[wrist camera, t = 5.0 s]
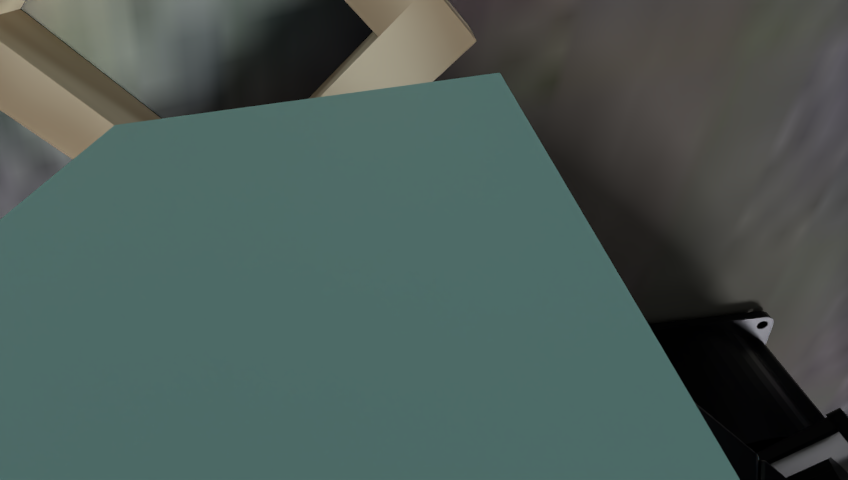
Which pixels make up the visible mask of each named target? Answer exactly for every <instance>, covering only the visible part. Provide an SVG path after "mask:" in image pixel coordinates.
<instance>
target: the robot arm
mask: <svg viewBox="0 0 848 480" xmlns="http://www.w3.org/2000/svg"><path fill="white" fill-rule="evenodd" d="M649 326H650V328H651V330H652V331H653V333H654V335H655V337H656V338H657V340H658V342H659V343H660V345H661V347H662V348H663V350H664V352H665V353H666V355H667V357H668V359H669V360H670V362H671V364H672V365H673V367H674V369H675V370H676V372H677V374H678V376H679V377H680V379H681V381H682V382H683V384H684V386H685V387H686V389H687V391H688V392H689V394H690V396H691V398H692V399H693V401H694V403H695V404H696V406H697V408H698V409H699V411H700V413H701V414H702V416H703V418H704V420H705V421H706V423H707V425H708V426H709V428H710V430H711V431H712V433H713V435H714V436H715V438H716V440H717V442H718V443H719V445H720V447H721V448H722V450H723V452H724V453H725V455H726V457H727V459H728V460H729V462H730V464H731V465H732V467H733V469H734V470H735V472H736V474H737V475H738V477H739V479H740V480H848V415H847V414H846V413H845V412H844V411H843V410H842V409H841V408H838V409H836V410H834V411H832V412H830V413H828V414H826V416H827V417H826V418H825V417H824V416H823V415H822V413H821V412H820V411H819V410H818V409H817V407H816V406H815V405H814V404H813V402H812V401H811V400H810V399H809V398H808V396H807V395H806V394H805V393H804V392H803V390H802V389H801V388H800V387H799V385H798V384H797V383H796V382H795V381H794V379H793V378H792V377H791V376H790V374H789V373H788V372H787V371H786V370H785V368H784V367H783V366H782V365H781V363H780V362H779V361H778V360H777V359H776V357H775V356H774V355H773V354H772V353H771V351H770V350H769V349H768V348H767V346H766V342H767V340H768V337H769V334H770V331H771V329H772V326H773V319H772V318H771V317H770V316H769V315H768V314H767V313H766V312H763V311H759V312H751V313H743V314H734V315H726V316H717V317H709V318H700V319H692V320H684V321H675V322H667V323H658V324H650V325H649Z"/></svg>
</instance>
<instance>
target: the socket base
mask: <svg viewBox="0 0 848 480" xmlns="http://www.w3.org/2000/svg"><path fill="white" fill-rule="evenodd" d="M24 2H25V0H0V110H1V111H2V112H4V113H5V114H7V115H8V116H10V117H11V118H13V119H14V120H16V121H17V122H18V123H20V124H21V125H23V126H24V127H26V128H27V129H29V130H30V131H32V132H33V133H35V134H36V135H38V136H39V137H41V138H42V139H43V140H45V141H46V142H48V143H49V144H51V145H52V146H54V147H55V148H57V149H58V150H60V151H61V152H63V153H64V154H66V155H67V156H68V157H70V158H71V159H74V158H75V157H77V156H78V155H79V154H80V153H81V152H83V151H84V150H85V149H86V148H88V147H89V146H90V145H91V144H92V143H94V142H95V141H96V140H97V139H98V138H100V137H101V136H102V135H103V134H104V133H106V132H107V131H108V130H109V129H111V128H112V127H113V126H114V125H119V124H126V123H133V122H141V121H148V120H155V119H161V118H160V117H159V116H157V115H156V114H155V113H154V112H152V111H151V110H150V109H148V108H147V107H146V106H145V105H143V104H142V103H141V102H139V101H138V100H137V99H136V98H134V97H133V96H132V95H130V94H129V93H128V92H127V91H125V90H124V89H123V88H121V87H120V86H119V85H118V84H116V83H115V82H114V81H112V80H111V79H110V78H109V77H107V76H106V75H105V74H103V73H102V72H101V71H100V70H98V69H97V68H96V67H94V66H93V65H92V64H91V63H89V62H88V61H87V60H85V59H84V58H83V57H81V56H80V55H79V54H78V53H76V52H75V51H74V50H72V49H71V48H70V47H69V46H67V45H66V44H65V43H63V42H62V41H61V40H60V39H58V38H57V37H56V36H54V35H53V34H52V33H51V32H49V31H48V30H47V29H45V28H44V27H43V26H42V25H40V24H39V23H38V22H36V21H35V20H34V19H33V18H31V17H30V16H29V15H27V14H26V13H25V12H24V11H22V10H21V9H20V8H21V7H22V5H23V4H24ZM345 2H346V3H347V4H348V5H349V6H350V7H351V8H352V9H353V10H354V11H355V12H356V13H357V15H358V16H359V17H360V18H361V19H362V20H363V21H364V22H365V23H366V24H367V25H368V26H369V28H370V29H371V30H372V31H373V32H372V33H371V34H370V35H369V36H368V37H367V38H366V39H365V40H364V41H363V42H362V43H361V44H360V45H359V46H358V47H357V49H356V50H355V51H354V52H353V53H352V54H351V55H350V56H349V57H348V58H347V59H346V60H345V61H344V62H343V63H342V64H341V65H340V66H339V67H338V68H337V69H336V70H335V71H334V72H333V73H332V74H331V75H330V76H329V77H328V79H327V80H326V81H325V82H324V83H323V84H322V85H321V86H320V87H319V88H318V89H317V90H316V91H315V92H314V93H313V94H312V95H311V96H310V97H309V98H308V99H310V98H317V97H324V96H332V95H339V94H346V93H354V92H361V91H368V90H376V89H383V88H390V87H398V86H405V85H413V84H420V83H427V82H433V81H434V80H435V79H436V78H437V77H438V76H439V75H441V74H442V73H443V72H444V71H445V70H446V69H447V68H448V67H449V66H450V65H451V64H452V63H454V62H455V61H456V60H457V59H458V58H459V57H460V56H461V55H462V54H463V53H464V52H465V51H466V50H468V49H469V48H470V47H471V46H472V45H473V44H474V43H475V42H476V41H477V40H476V38H475V37H474V35H473V33H472V31H471V29H470V27H469V26H468V25H467V23H466V22H465V21H464V20H463V18H462V17H461V16H460V15H459V14H458V12H457V11H456V10H455V9H454V7H453V6H452V5H451V4H450V2H449V1H448V0H345Z"/></svg>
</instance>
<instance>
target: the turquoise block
mask: <svg viewBox="0 0 848 480" xmlns="http://www.w3.org/2000/svg"><path fill="white" fill-rule="evenodd" d="M0 480H740V479H739V477H738V475H737V474H736V472H735V470H734V469H733V467H732V465H731V464H730V462H729V460H728V459H727V457H726V455H725V453H724V452H723V450H722V448H721V447H720V445H719V443H718V442H717V440H716V438H715V436H714V435H713V433H712V431H711V430H710V428H709V426H708V425H707V423H706V421H705V420H704V418H703V416H702V414H701V413H700V411H699V409H698V408H697V406H696V404H695V403H694V401H693V399H692V398H691V396H690V394H689V392H688V391H687V389H686V387H685V386H684V384H683V382H682V381H681V379H680V377H679V376H678V374H677V372H676V370H675V369H674V367H673V365H672V364H671V362H670V360H669V359H668V357H667V355H666V353H665V352H664V350H663V348H662V347H661V345H660V343H659V342H658V340H657V338H656V337H655V335H654V333H653V331H652V330H651V328H650V326H649V325H648V323H647V321H646V320H645V318H644V316H643V315H642V313H641V311H640V309H639V308H638V306H637V304H636V303H635V301H634V299H633V298H632V296H631V294H630V292H629V291H628V289H627V287H626V286H625V284H624V282H623V281H622V279H621V277H620V276H619V274H618V272H617V270H616V269H615V267H614V265H613V264H612V262H611V260H610V259H609V257H608V255H607V254H606V252H605V250H604V248H603V247H602V245H601V243H600V242H599V240H598V238H597V237H596V235H595V233H594V231H593V230H592V228H591V226H590V225H589V223H588V221H587V220H586V218H585V216H584V215H583V213H582V211H581V209H580V208H579V206H578V204H577V203H576V201H575V199H574V198H573V196H572V194H571V193H570V191H569V189H568V187H567V186H566V184H565V182H564V181H563V179H562V177H561V176H560V174H559V172H558V170H557V169H556V167H555V165H554V164H553V162H552V160H551V159H550V157H549V155H548V154H547V152H546V150H545V148H544V147H543V145H542V143H541V142H540V140H539V138H538V137H537V135H536V133H535V132H534V130H533V128H532V126H531V125H530V123H529V121H528V120H527V118H526V116H525V115H524V113H523V111H522V110H521V108H520V106H519V104H518V103H517V101H516V99H515V98H514V96H513V94H512V93H511V91H510V89H509V87H508V86H507V84H506V82H505V81H504V79H503V77H502V76H501V74H500V73H493V74H486V75H479V76H471V77H464V78H457V79H449V80H442V81H435V82H427V83H420V84H413V85H405V86H398V87H390V88H383V89H376V90H368V91H361V92H354V93H346V94H339V95H332V96H324V97H317V98H310V99H302V100H295V101H288V102H280V103H273V104H266V105H258V106H251V107H244V108H236V109H229V110H222V111H214V112H207V113H200V114H192V115H185V116H177V117H170V118H163V119H155V120H148V121H141V122H133V123H126V124H119V125H114V126H113V127H112V128H111V129H109V130H108V131H107V132H106V133H104V134H103V135H102V136H101V137H100V138H98V139H97V140H96V141H95V142H94V143H92V144H91V145H90V146H89V147H88V148H86V149H85V150H84V151H83V152H81V153H80V154H79V155H78V156H77V157H75V158H74V159H73V160H72V161H71V162H69V163H68V164H67V165H66V166H65V167H63V168H62V169H61V170H60V171H58V172H57V173H56V174H55V175H54V176H52V177H51V178H50V179H49V180H48V181H46V182H45V183H44V184H43V185H41V186H40V187H39V188H38V189H37V190H35V191H34V192H33V193H32V194H31V195H29V196H28V197H27V198H26V199H25V200H23V201H22V202H21V203H20V204H18V205H17V206H16V207H15V208H14V209H12V210H11V211H10V212H9V213H8V214H6V215H5V216H4V217H3V218H2V219H0Z"/></svg>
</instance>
